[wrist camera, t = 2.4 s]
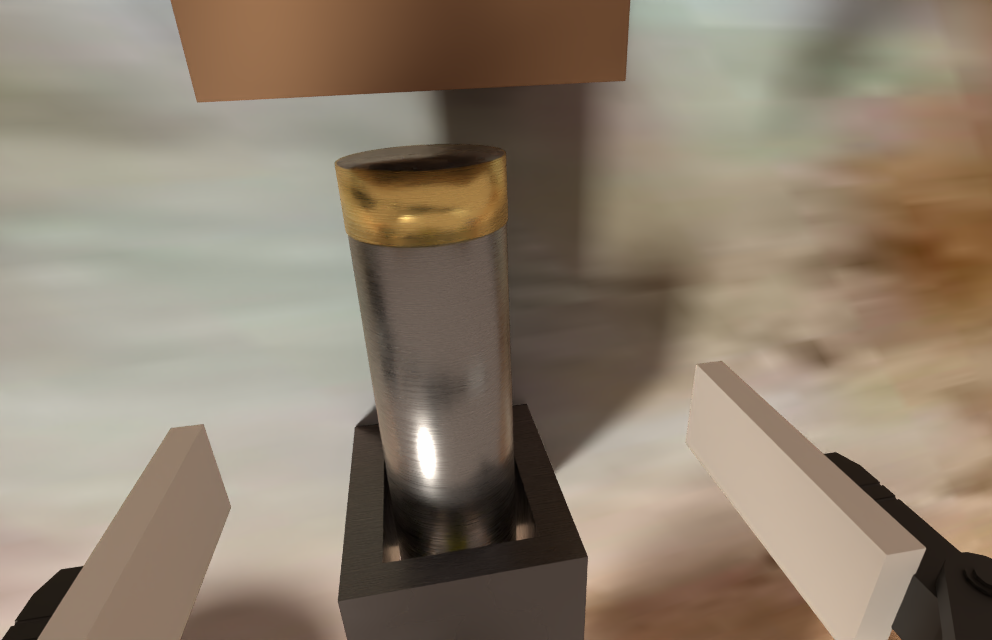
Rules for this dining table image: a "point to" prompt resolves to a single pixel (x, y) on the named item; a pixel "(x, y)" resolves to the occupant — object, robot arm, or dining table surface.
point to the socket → (396, 45)
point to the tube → (437, 336)
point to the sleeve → (463, 561)
